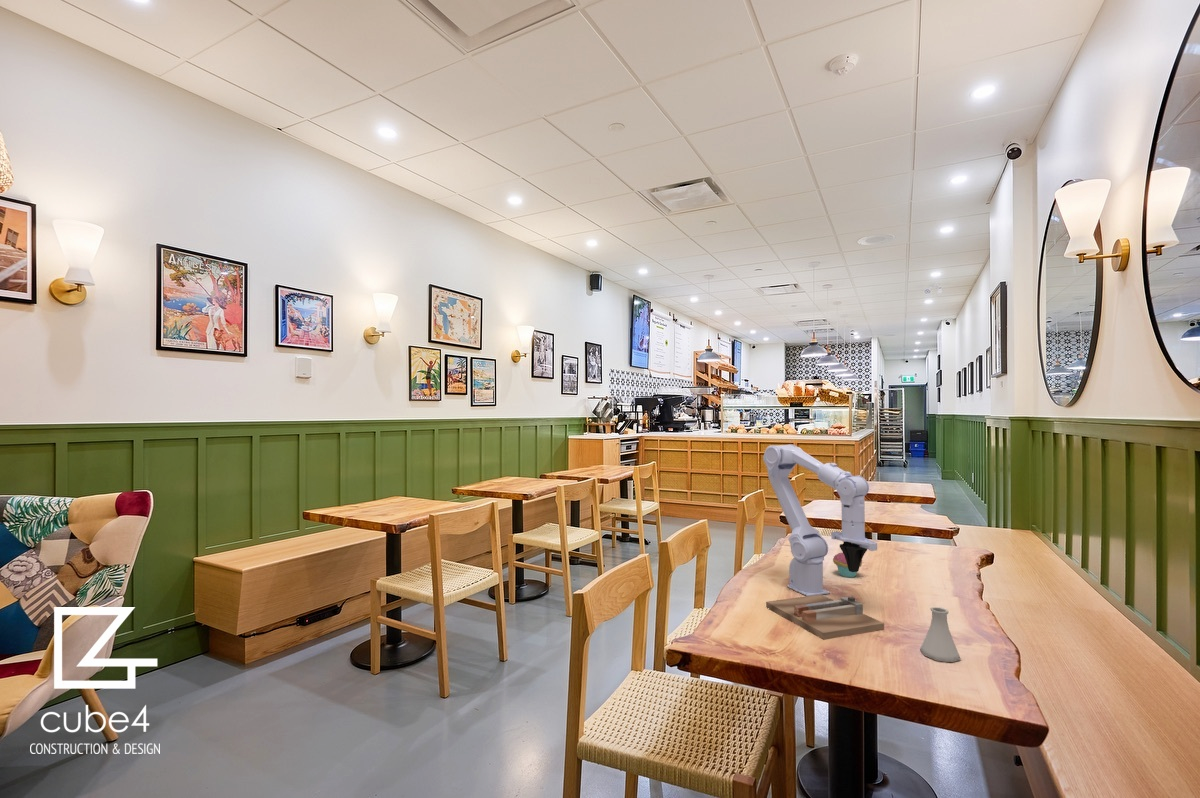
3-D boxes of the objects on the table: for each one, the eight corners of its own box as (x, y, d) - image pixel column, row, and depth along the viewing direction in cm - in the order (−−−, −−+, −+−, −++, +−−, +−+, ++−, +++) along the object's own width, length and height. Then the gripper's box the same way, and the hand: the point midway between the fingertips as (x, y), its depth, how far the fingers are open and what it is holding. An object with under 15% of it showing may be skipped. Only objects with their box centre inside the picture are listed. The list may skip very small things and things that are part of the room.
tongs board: (766, 607, 149) (766, 589, 149) (820, 599, 155) (820, 582, 155) (823, 639, 128) (823, 618, 128) (884, 629, 134) (884, 609, 134)
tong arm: (838, 607, 144) (838, 599, 144) (843, 609, 143) (843, 601, 143) (794, 614, 140) (793, 605, 140) (798, 616, 138) (798, 608, 138)
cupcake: (863, 574, 179) (863, 536, 179) (860, 580, 172) (859, 542, 172) (835, 569, 184) (835, 533, 184) (830, 576, 176) (830, 538, 177)
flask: (913, 649, 123) (912, 604, 123) (944, 647, 124) (943, 603, 124) (935, 664, 116) (935, 616, 116) (968, 662, 117) (967, 615, 117)
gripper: (822, 517, 156) (822, 565, 156) (861, 527, 142) (862, 580, 142) (842, 515, 158) (843, 563, 158) (883, 525, 144) (884, 577, 144)
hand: (853, 571), depth 150 cm, fingers closed
